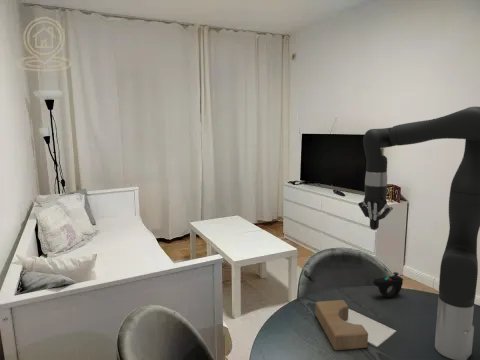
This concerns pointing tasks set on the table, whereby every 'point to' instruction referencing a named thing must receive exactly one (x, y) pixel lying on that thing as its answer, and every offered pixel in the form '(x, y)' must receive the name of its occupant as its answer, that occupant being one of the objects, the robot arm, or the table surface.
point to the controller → (387, 282)
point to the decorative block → (340, 325)
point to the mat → (371, 328)
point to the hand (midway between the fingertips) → (373, 229)
